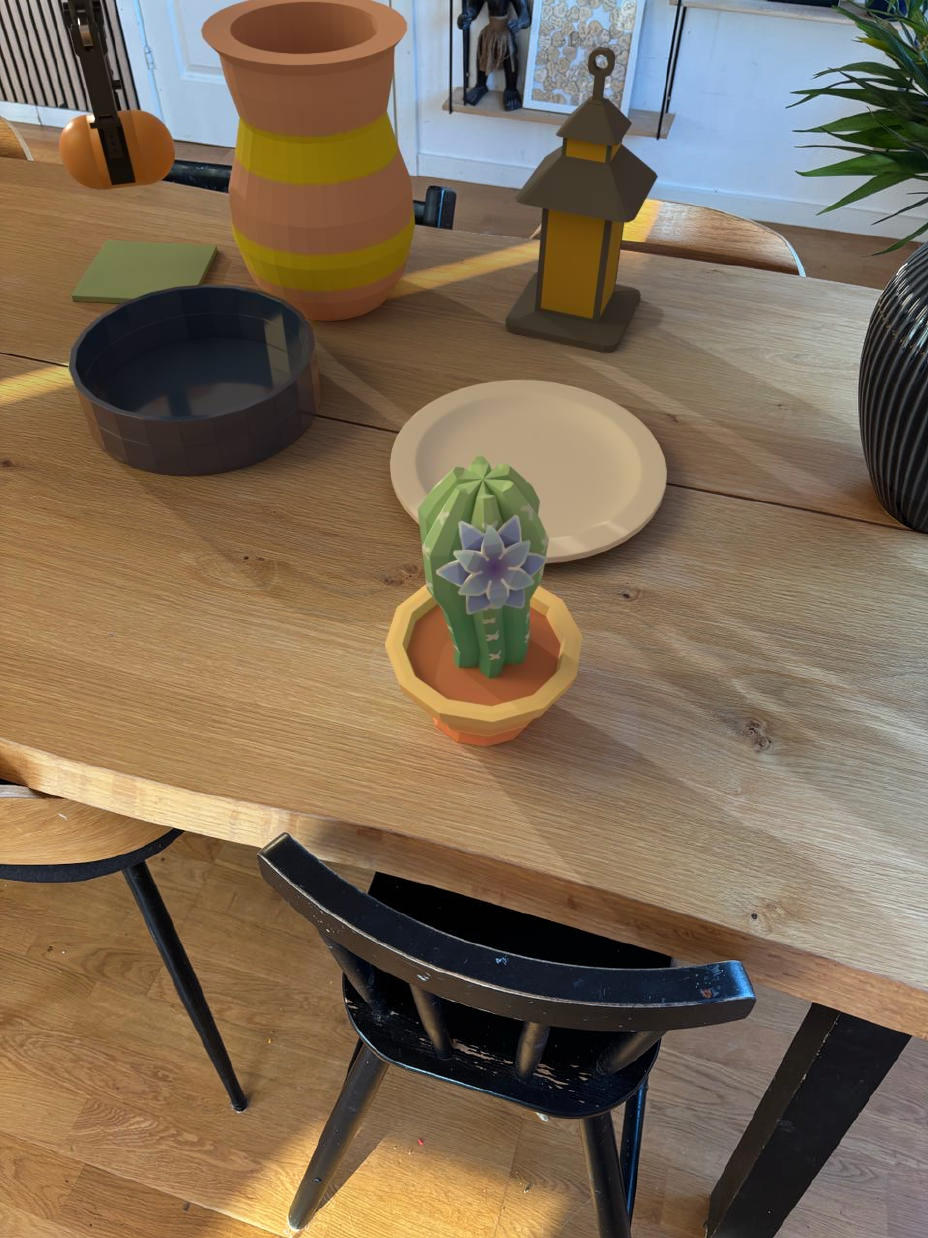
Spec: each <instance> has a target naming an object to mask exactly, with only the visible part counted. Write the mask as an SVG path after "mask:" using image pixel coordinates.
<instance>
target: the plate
mask: <svg viewBox="0 0 928 1238" xmlns="http://www.w3.org/2000/svg"><path fill="white" fill-rule="evenodd" d="M390 452H391V453H390V459H389V471H390V480H391V484H392V487H393V490H394V492H395V496H396V498H397V499H398V501H399V502H400V504H401V506H402V508H403V509H404V510H405V512H406V513H407V514H408V515H409V516H410V517H411V518H412V519H413V520H414V521H415V522H416V524H418V525H419V517H418V507H419V506H420V504H421V503H422V502H423V500H424V499H425V498H426V496H427V495H428V494H429V493H430V491H431V490H432V489H433V488H434V486H436V485H437V484H438V483H439V482H440V481H441V480H442V479H443V478H444V477H445V476H446V475H447V474H448V473H449V472H451V471H452V470H453V469H454V468H455V467H462V468H465V469H467V470H468V469H469V467H470V466H471V464H472V462H473V461H474V459H475V457H477V456H483V457H484V458H485V459H486V460H487V461H488V462H489V464H490V466H491V469H492V470H493V469H494V468H495V467H496V466H497V465H499V464H502V463H507V464H508V465H510V466H511V467H512V468H513V469H514V470H515V471H516V472H517V473H518V474H520V475H521V476H522V477H523V478H524V479H525V480H526V481H527V482H528V483H530V484H531V485H532V486H533V488H534V490H535V492H536V494H537V496H538V498H539V500H540V504H539V511H538V517H539V518H540V520H541V522H542V525H543V527H544V529H545V531H546V534H547V536H548V538H549V542H548V548H547V554H546V557H547V562H546V563H545V564H553V563H554V564H555V563H564V562H565V563H566V562H570V561H575V560H580V559H586V558H588V557H592V556H595V555H597V554H600V553H604V552H606V551H609V550H611V549H613V548H615V547H617V546H619V545H621V544H623V543H625V542H627V541H628V540H629V539H630V538H632V537H634V536H635V535H636V534H638V533H639V532H641V530H642V529H644V527H645V526H646V525H648V523H649V522H650V521H651V520H652V519H653V518H654V516H655V515H656V513H657V511H658V510H659V508H660V506H661V504H662V502H663V501H662V500H663V498H664V495H665V492H666V489H667V476H668V469H667V463H666V458H665V455H664V452H663V451H662V448H661V445H660V443H659V441H657V439H656V438H655V436H654V435H653V433H652V432H651V430H650V429H649V428H648V427H647V426H646V425H645V424H644V422H642V420H640V419H639V418H637V417H636V416H635V415H634V414H632V413H631V412H630V411H628V409H626V408H624V407H623V406H621V405H619V404H617V403H616V402H614V401H613V400H611V399H608V398H606V397H604V396H602V395H599V394H597V393H595V392H592V391H590V390H586V389H583V388H580V387H577V386H574V385H568V384H563V383H559V382H553V381H547V380H546V381H545V380H538V379H537V380H535V379H508V380H507V379H506V380H494V381H488V382H482V383H476V384H473V385H470V386H465V387H461V388H459V389H456V390H453V391H451V392H449V393H446V394H443V395H442V396H440V397H438V398H436V399H434V400H432V401H430V402H429V403H427V404H426V405H425V406H423V407H421V408H420V409H419V410H418V411H416V412H415V413H414V414H413V415H412V416H411V417H410V418H409V419H408V420H407V421H406V422H405V423H404V425H403V426H402V428H401V429H400V431H399V432H398V434H397V436H396V438H395V440H394V443H393V445H392V448H391V451H390Z"/></svg>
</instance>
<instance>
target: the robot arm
mask: <svg viewBox="0 0 928 1238" xmlns="http://www.w3.org/2000/svg"><path fill="white" fill-rule="evenodd" d="M61 4H62V5H61V6H62V16H63V21H64V24H65V26H66V28H67V29H68V30H69V34H70V38H71V43H72V46H73V50H74V54H75V55H76V56H77V58H79V62H80V67H81V70H82V74H83V78H84V82H85V87H86V89H87V90H86V91H87V94H88V98H89V102H90V107H91V110H92V114H93V115H94V122H92V123H89V124H90V128H91V129H97V130H98V134H99V138H100V141H101V145H102V149H103V153H104V157H105V161H106V164H107V168H108V172H109V176H110V180H111V184H112V185H119V184H128V183H136V180H135V176H134V172H133V167H132V163H131V159H130V155H129V151H128V147H127V142H126V138H125V134H124V130H123V126H122V122H121V119H120V117H119V116H118V112H117V111H123V109H122V106H121V100H120V97H119V93H118V90H119V91H120V90H123V85H122V82H121V79H114V75H115V72H114V70H113V69H112V65H111V62H110V57H109V46H108V42H107V38H108V37H107V32H106V31H107V30H106V27H105V24H106V22H105V16H104V10H103V5H102V1H101V0H67V1H63V2H61ZM102 115H103V116H102Z"/></svg>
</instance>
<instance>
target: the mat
mask: <svg viewBox="0 0 928 1238" xmlns="http://www.w3.org/2000/svg"><path fill="white" fill-rule="evenodd" d="M218 250H219V249H218V245H216V244H215V245H212V244H191V243H172V242H171V243H170V242H169V243H167V242H152V241H151V242H148V241H127V240H111V239H110V240H109V239H108V240H107V239H106V240H105V241H104V243H103V244H102V245H101V247H100V249H99V250H98V252H97V254H96V255H95V257H94V258H93V260H92V262H91V263H90V265H89V267H88V268H87V269H86V271H85V273H84V274H83V276H82V277H81V279H80V280H79V282H78V283H77V285H76V286H75V288H74V290H73V292H72V293H71V294H70V296H71V300H72V302H82V303H83V302H84V303H102V304H103V303H105V304H121V303H123V302H126V301H129V300H131V299H134V298H136V297H139V296H142V295H144V294H147V293H150V292H155V291H159V290H164V289H168V288H173V287H179V286H191V285H202V284H203V283H204V281H205V279H206V277H207V275H208V273H209V270H210V269H211V267H212V264H213V262H214V260H215V258H216V256H217V253H218Z"/></svg>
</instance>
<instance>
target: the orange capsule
mask: <svg viewBox="0 0 928 1238" xmlns="http://www.w3.org/2000/svg"><path fill="white" fill-rule="evenodd" d="M117 112H118V116H119V117H120V119H121V122H122V126H123V130H124V134H125V138H126V142H127V147H128V151H129V155H130V159H131V163H132V167H133V172H134V176H135V180H136V183H128V184H119V185H112V184H111V180H110V176H109V172H108V168H107V164H106V161H105V157H104V153H103V149H102V145H101V141H100V138H99V134H98V130H97V129H91V128H90V124H89V123H92V122H94V115H93V113H87V114H82V115H79V116H75V117H74V118H72V119H71V120H69V122H68V123H67V124H66V125H65V126H64V128H63V130H62V131H61V133H60V136H59V141H58V152H59V157H60V160H61V163H62V165H63V167H64V169H65V171H66V172H67V173H68V174H69V175H70V177H71V178H73V179H74V180H75V181H76V182H77V183H78V184H80V185H82V186H84V187H85V188H88V189H91V190H97V191H106V190H115V189H123V188H124V189H125V188H134V187H141V186H149V185H154V184H157V183H159V182H161V181H162V180H163V179H165V178H166V177H167V176H168V175H169V174H170V172H171V170H172V168H173V166H174V163H175V159H176V146H175V141H174V138H173V135H172V133H171V132H170V130H169V128H168V127H167V125H166V124H165V123H164V122H163V121H162V120H161V119H160V118H158V116H156V115H154V114H152V113H150V112H148V111H146V110H141V109H125V110H122V111H117ZM102 116H103V115H102Z"/></svg>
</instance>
